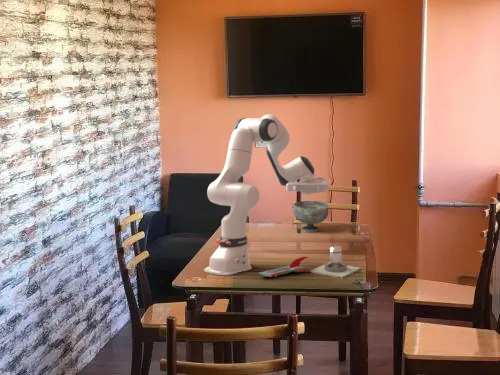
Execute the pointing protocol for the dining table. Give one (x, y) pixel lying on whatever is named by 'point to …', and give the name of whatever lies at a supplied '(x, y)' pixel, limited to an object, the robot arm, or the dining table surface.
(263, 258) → the dining table surface
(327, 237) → the dining table surface
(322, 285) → the dining table surface
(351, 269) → the ring plate
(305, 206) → the bowl
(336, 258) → the piston
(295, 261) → the toy spaceship
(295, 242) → the dining table surface
